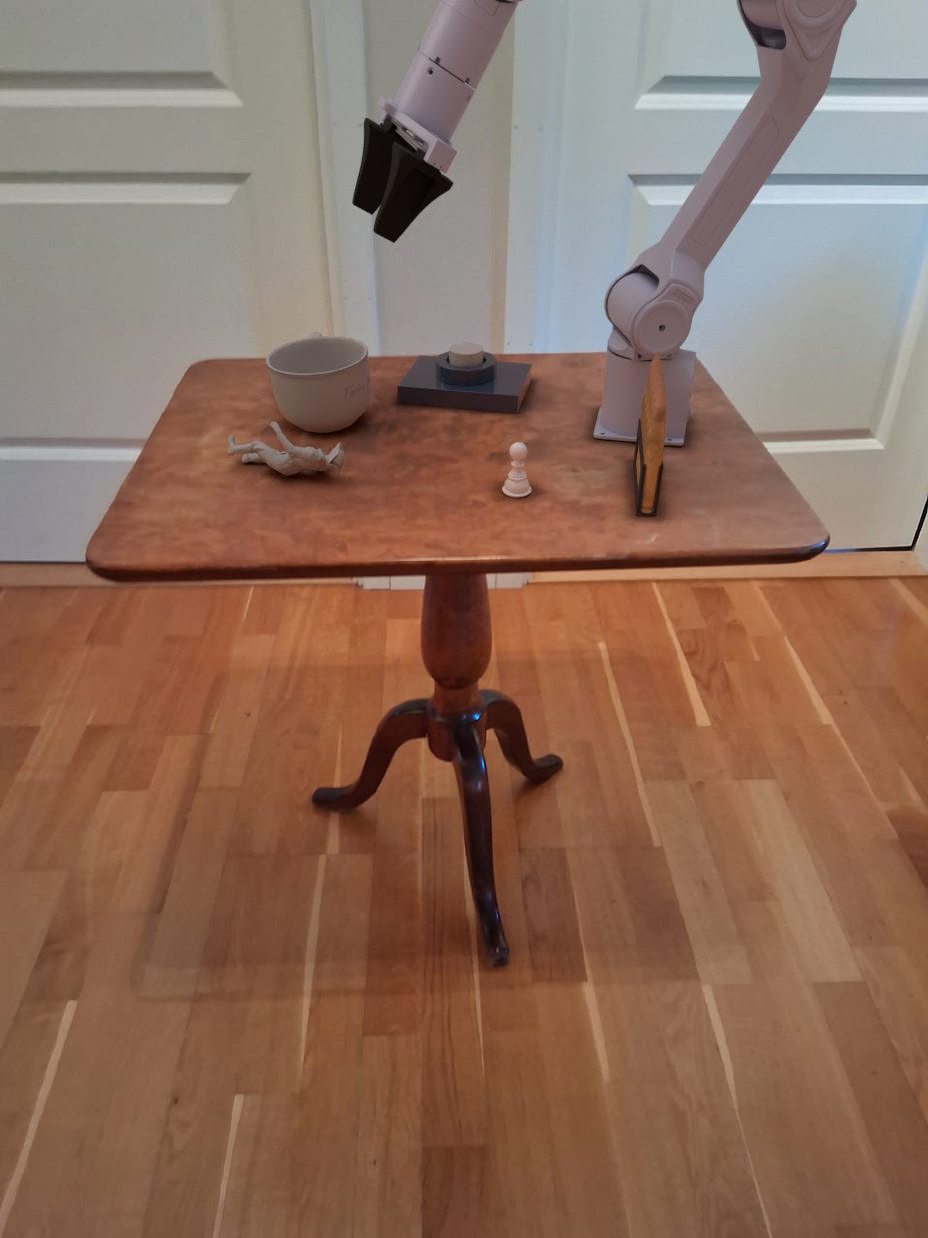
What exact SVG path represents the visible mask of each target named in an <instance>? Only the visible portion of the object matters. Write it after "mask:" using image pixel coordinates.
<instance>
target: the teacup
mask: <svg viewBox="0 0 928 1238" xmlns="http://www.w3.org/2000/svg"><path fill="white" fill-rule="evenodd" d="M368 356H369V348H368V346H367V345H366V344H365V343H364V342H362V341H361V340H359V339H356V338H352V337H347V336H340V335H338V336H336V335H326V336H325V335H323V334H322V333H321V332H318V331H316V332H310V333H309V334H308V337H306V338H301V339H296V340H292V341H290V342H289V341H288V342H286V343H284V344H282V345H280V346H278V347H276V348H274V349H273V350H272V351H270V352H269V354H267V356H266V358H265V365H266V367H267V369H268V370H267V371H268V374H269V380H270V384H271V388H272V389H271V390H272V394H273V396H274V401H275V404H276V407H277V409H278V411H279V413H280V415H281V416H282V417H283V418H284V419H285V420H286V421H287V422H289V423H290V424H292V425H294V426H295V427H297V428H299V429H300V430H303V431H305V432H309V433H317V434H321V433H323V434H326V433H333V432H338V431H342V430H344V429H346V428H349V427H350V426H352V425H353V424H354V423H356V421H357V420H358V419H359V418H360V417H361V416H362V415H363V414H364V413H365V412H366V410H367V409H368V407H369V405H370V402H371V394H372V391H371V390H372V388H371V376H370V374H371V373H370V365H369V357H368Z"/></svg>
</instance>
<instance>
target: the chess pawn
mask: <svg viewBox="0 0 928 1238" xmlns="http://www.w3.org/2000/svg"><path fill="white" fill-rule="evenodd" d="M508 454H509V456H510V458H511V459H512V461H511V462H510V466H511V467H512V469H511V470H510V471H509V472H508V474H507V478H506V479H505V481H504V485H502V487H501V490H502V492H503V494H505V495H506V496H508V497H511V498H524V497H527V496H528V495H530V494H531V493H532V490H533V489H532V487H531V486H530V485H531V484H530V480H529V479H528V474H527V473H526V472H525V470H524V467H525V466H526V462H525V461H524V459H525V458H526V457H527V455H528V447H527V445H526V443H525V444H524V442H521V441H517V442H514V443H512V444H511V445H510V447H509V449H508Z"/></svg>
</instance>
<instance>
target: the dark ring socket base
mask: <svg viewBox="0 0 928 1238" xmlns="http://www.w3.org/2000/svg"><path fill="white" fill-rule="evenodd" d="M532 368H533V364H532V363H523V362H511V361H509V362H508V361H499V360H498V359H497V358H496V356H494V355H493V354H492V353H491V352H487V351H484V352H483V364H481V365H478V366H472V367H462V366H454V365H451V364H449V350H448V351H445V352H443V353H440V354H439V355H438V356H432V355H419V356H418V357H416V360H415V361H414V362H413V363H412V365H411V366H410V368H409V369H408V371H407V372H406V373H405V375H404V376H403V377H402V379H401V380H400V381H399V383H398V384H397V387H396V389H397V403H398V404H400V405H411V406H422V407H423V406H425V407H436V408H444V409H445V408H446V409H455V410H456V409H457V410H467V411H468V410H470V411H481V412H493V413H502V414H503V413H504V414H515V415H517V414H518V413H519V411H520V408H521V407H522V404H523V401H524V398H525V397H526V394H527V392H528V389H529V388H530V384H531V382H532V370H533V369H532Z"/></svg>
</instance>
